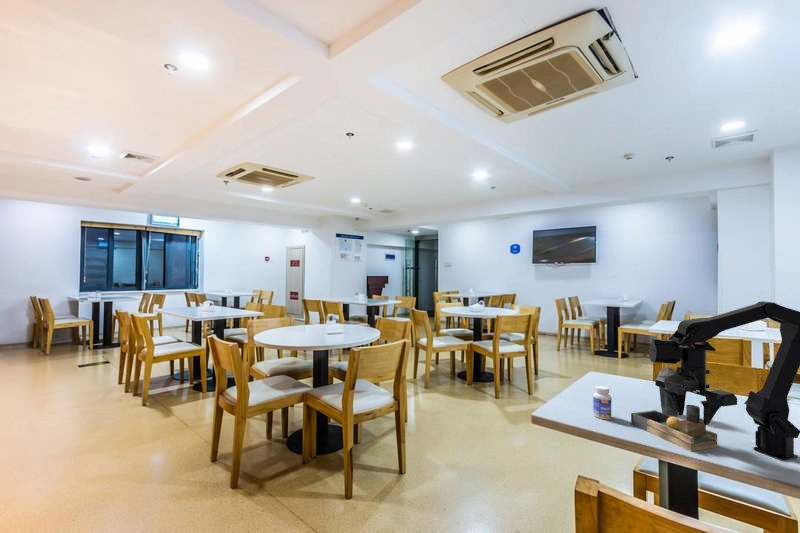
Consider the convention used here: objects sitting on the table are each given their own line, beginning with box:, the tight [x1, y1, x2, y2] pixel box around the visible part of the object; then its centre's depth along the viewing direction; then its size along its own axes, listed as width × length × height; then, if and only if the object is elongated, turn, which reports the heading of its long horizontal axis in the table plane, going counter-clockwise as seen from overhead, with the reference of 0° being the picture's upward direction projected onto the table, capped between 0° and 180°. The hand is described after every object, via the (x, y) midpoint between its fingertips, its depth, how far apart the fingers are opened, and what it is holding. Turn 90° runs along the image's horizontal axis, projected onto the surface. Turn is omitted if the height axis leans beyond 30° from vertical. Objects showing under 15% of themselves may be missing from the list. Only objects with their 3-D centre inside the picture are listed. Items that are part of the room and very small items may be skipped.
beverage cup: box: [657, 363, 679, 417], centre depth 128 cm, size 7×7×20 cm
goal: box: [630, 410, 670, 432], centre depth 117 cm, size 6×10×4 cm, turn 106°
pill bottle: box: [592, 385, 612, 420], centre depth 125 cm, size 5×5×10 cm
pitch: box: [646, 416, 718, 452], centre depth 108 cm, size 13×10×4 cm
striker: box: [680, 404, 707, 437], centre depth 105 cm, size 3×7×8 cm, turn 106°
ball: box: [667, 416, 681, 430], centre depth 110 cm, size 4×4×4 cm
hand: (693, 420), depth 105 cm, fingers open, 7 cm apart
